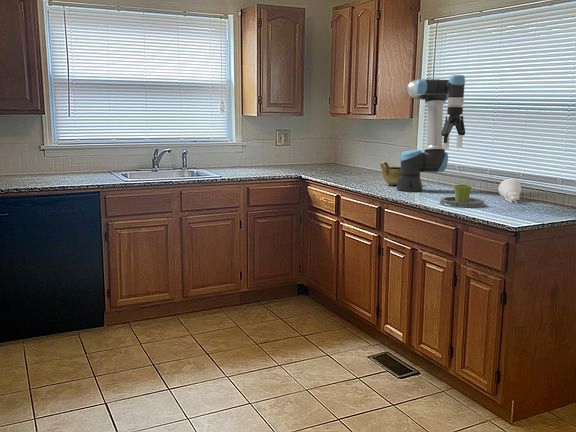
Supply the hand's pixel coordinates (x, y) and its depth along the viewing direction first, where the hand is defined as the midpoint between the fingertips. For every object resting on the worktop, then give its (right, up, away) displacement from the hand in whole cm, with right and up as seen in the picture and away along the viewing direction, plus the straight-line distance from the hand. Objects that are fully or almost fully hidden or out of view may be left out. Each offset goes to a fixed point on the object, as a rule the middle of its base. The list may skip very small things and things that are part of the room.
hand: (452, 148), depth 303 cm
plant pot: (+4, -28, -4) cm, 28 cm away
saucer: (+4, -28, -4) cm, 29 cm away
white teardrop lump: (+32, -27, +9) cm, 43 cm away
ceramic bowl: (-17, -15, +66) cm, 70 cm away
